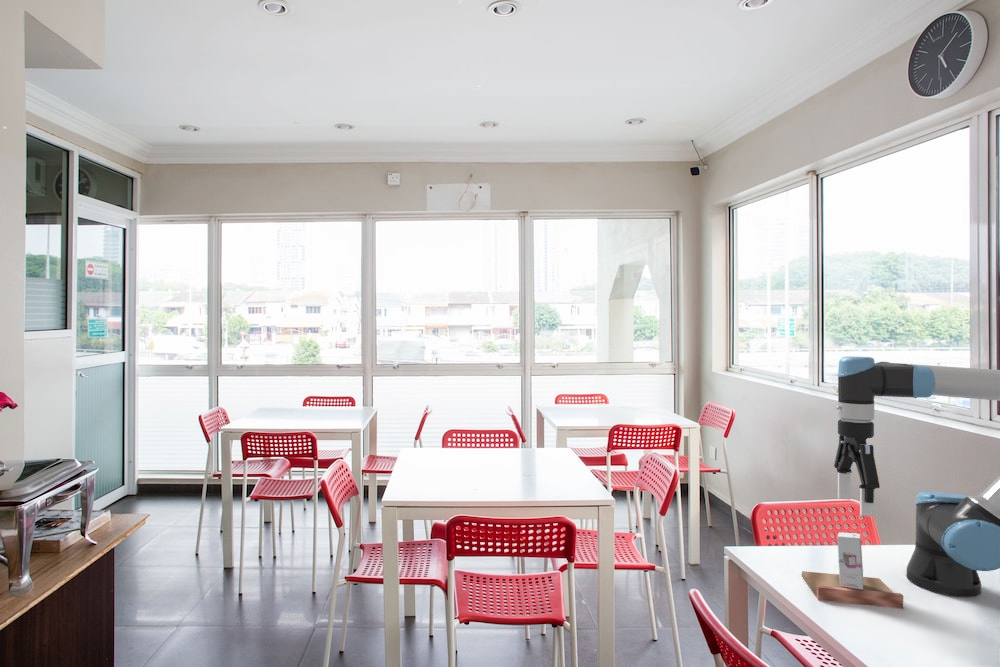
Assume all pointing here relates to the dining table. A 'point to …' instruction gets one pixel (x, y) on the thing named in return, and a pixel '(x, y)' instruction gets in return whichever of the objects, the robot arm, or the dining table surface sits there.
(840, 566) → the ink box
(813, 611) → the dining table surface
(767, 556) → the dining table surface
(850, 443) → the robot arm
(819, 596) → the shelf board
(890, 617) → the dining table surface
